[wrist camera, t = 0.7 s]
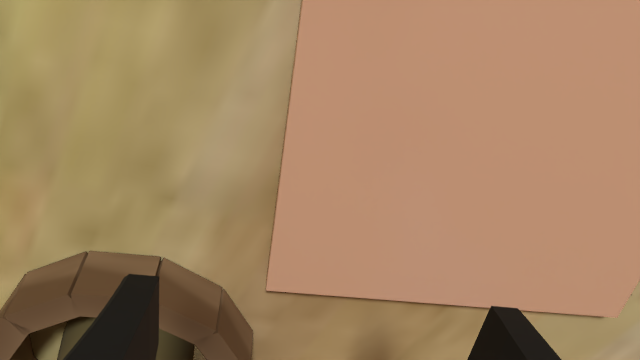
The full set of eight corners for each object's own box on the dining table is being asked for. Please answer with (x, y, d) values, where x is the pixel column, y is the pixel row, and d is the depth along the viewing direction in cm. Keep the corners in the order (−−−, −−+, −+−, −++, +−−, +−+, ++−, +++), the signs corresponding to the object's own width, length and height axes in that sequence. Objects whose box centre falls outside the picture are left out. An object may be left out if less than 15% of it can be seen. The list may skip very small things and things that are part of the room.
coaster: (609, 304, 28) (617, 317, 27) (266, 277, 26) (265, 290, 25) (813, -51, 19) (832, -45, 18) (317, -129, 17) (318, -125, 17)
